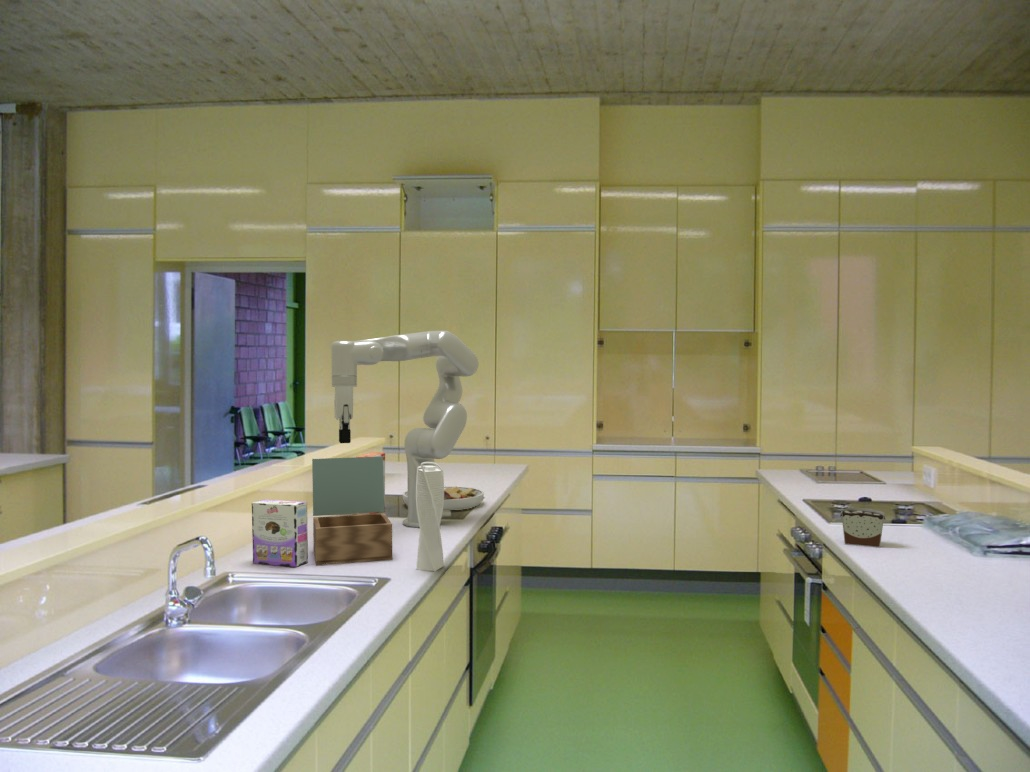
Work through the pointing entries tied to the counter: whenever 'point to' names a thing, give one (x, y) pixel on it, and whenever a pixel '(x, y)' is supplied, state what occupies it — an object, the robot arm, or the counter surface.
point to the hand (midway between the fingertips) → (344, 442)
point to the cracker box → (383, 472)
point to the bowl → (457, 497)
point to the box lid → (347, 485)
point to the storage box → (352, 538)
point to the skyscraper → (429, 516)
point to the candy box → (280, 532)
